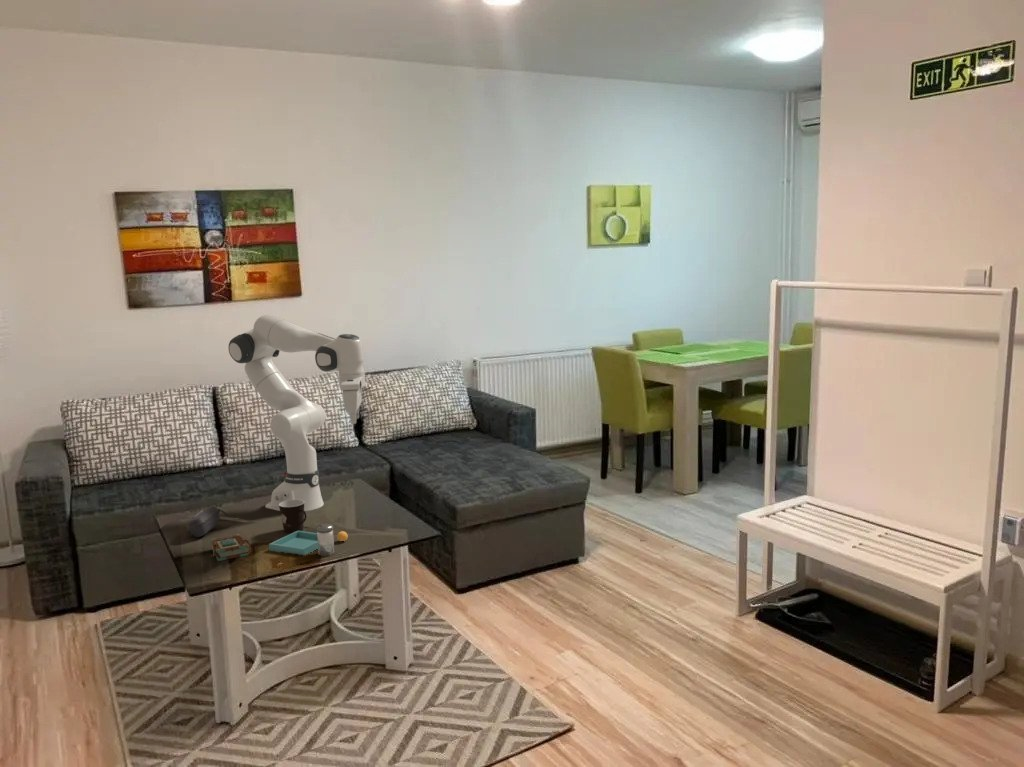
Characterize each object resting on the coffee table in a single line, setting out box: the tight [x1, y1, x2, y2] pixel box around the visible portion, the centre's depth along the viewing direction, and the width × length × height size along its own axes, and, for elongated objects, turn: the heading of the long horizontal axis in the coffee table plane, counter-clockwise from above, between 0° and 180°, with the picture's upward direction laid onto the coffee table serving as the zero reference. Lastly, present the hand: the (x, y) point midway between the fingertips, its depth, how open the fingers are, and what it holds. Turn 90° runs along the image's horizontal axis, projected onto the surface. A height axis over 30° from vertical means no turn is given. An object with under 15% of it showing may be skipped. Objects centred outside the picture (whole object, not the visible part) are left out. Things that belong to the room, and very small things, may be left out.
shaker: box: [315, 523, 335, 557], centre depth 261 cm, size 5×5×9 cm
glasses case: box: [186, 505, 229, 538], centre depth 286 cm, size 18×10×8 cm, turn 0°
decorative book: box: [210, 533, 252, 562], centre depth 267 cm, size 13×18×5 cm
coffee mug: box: [279, 500, 307, 534], centre depth 283 cm, size 12×9×10 cm
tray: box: [268, 530, 318, 557], centre depth 268 cm, size 14×14×2 cm
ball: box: [336, 530, 349, 542], centre depth 272 cm, size 4×4×4 cm
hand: (355, 421), depth 284 cm, fingers open, 8 cm apart
